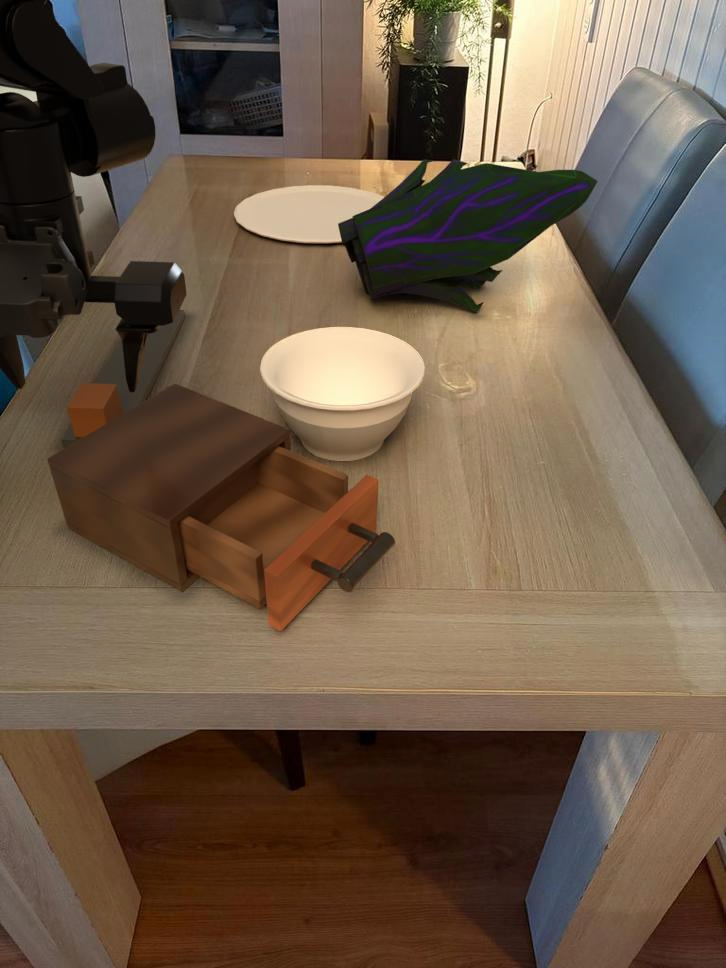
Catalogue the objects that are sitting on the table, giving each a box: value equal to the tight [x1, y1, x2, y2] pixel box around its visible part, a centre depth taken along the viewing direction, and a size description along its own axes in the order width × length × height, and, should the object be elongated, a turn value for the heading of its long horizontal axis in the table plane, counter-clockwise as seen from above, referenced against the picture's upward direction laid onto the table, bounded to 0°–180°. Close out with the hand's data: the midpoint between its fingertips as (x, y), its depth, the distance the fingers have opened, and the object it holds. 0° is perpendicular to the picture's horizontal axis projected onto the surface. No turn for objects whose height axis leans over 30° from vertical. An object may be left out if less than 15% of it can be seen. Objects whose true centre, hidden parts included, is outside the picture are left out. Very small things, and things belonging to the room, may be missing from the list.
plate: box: [233, 184, 385, 245], centre depth 129 cm, size 29×29×1 cm
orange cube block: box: [66, 382, 123, 438], centre depth 75 cm, size 5×4×4 cm
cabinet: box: [46, 383, 292, 593], centre depth 65 cm, size 14×15×8 cm
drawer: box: [178, 446, 396, 632], centre depth 60 cm, size 16×13×6 cm
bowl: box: [259, 326, 426, 462], centre depth 74 cm, size 16×16×8 cm
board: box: [61, 309, 186, 448], centre depth 86 cm, size 30×6×1 cm, turn 179°
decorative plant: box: [338, 158, 598, 314], centre depth 99 cm, size 21×26×30 cm
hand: (77, 388), depth 61 cm, fingers open, 9 cm apart
